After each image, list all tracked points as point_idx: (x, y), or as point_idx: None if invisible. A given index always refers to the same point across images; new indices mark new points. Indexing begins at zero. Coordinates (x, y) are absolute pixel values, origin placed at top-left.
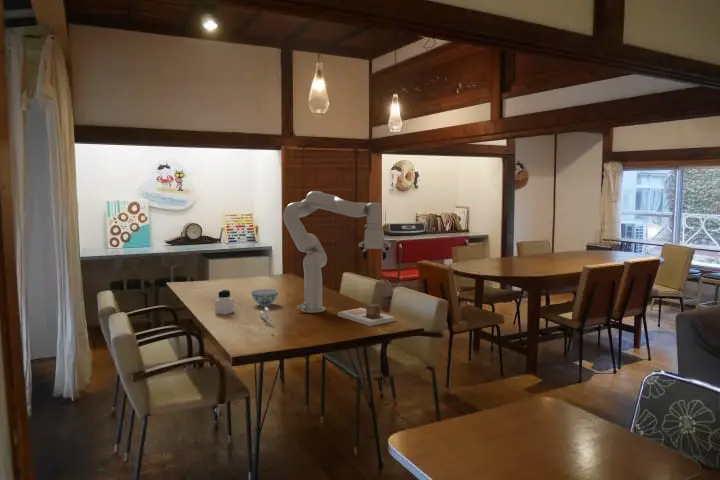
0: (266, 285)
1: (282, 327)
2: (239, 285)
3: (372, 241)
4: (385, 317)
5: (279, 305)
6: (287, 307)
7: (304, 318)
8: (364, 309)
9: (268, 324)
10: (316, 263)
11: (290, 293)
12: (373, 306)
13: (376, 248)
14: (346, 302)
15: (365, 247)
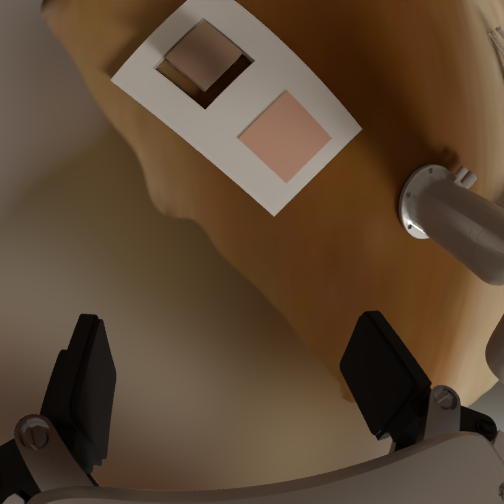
0: (460, 386)
1: (465, 7)
2: None
3: None
4: (147, 62)
5: None
6: None
7: (443, 93)
8: (258, 188)
9: (494, 33)
10: None
11: (443, 356)
12: (200, 26)
13: (212, 493)
14: (329, 323)
15: (476, 434)
